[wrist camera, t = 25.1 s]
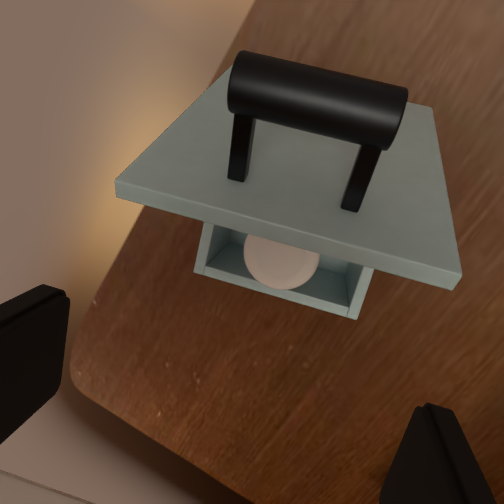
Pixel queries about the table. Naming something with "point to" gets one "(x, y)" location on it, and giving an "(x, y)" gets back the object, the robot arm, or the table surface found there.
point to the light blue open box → (310, 293)
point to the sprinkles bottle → (278, 263)
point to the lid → (308, 167)
